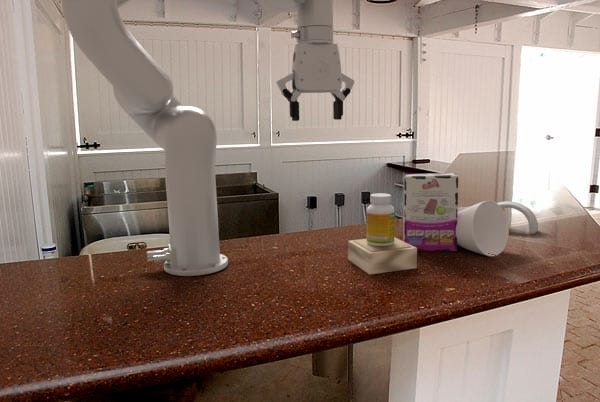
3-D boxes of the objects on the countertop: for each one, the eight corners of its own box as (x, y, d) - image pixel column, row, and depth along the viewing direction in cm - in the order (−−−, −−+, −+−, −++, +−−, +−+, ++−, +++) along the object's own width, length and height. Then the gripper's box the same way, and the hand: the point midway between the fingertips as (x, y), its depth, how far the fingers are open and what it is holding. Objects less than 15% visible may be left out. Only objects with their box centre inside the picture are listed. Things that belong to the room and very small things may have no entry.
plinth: (369, 274, 90) (369, 252, 89) (348, 259, 99) (347, 239, 99) (416, 268, 93) (417, 247, 92) (391, 254, 102) (391, 234, 102)
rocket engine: (419, 197, 115) (483, 189, 99) (449, 223, 119) (514, 220, 104) (401, 238, 111) (465, 237, 95) (433, 264, 115) (498, 266, 100)
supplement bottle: (394, 247, 92) (394, 197, 90) (365, 246, 93) (365, 197, 92) (394, 240, 97) (395, 192, 96) (367, 239, 98) (367, 192, 97)
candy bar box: (453, 245, 107) (456, 172, 105) (457, 252, 103) (459, 175, 100) (402, 244, 109) (403, 172, 106) (403, 251, 104) (404, 175, 101)
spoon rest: (433, 226, 127) (434, 199, 125) (449, 218, 136) (450, 193, 135) (531, 239, 113) (533, 208, 111) (541, 228, 122) (543, 200, 121)
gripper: (280, 34, 96) (283, 121, 99) (360, 36, 101) (360, 119, 104) (271, 39, 103) (273, 121, 106) (346, 41, 108) (346, 119, 111)
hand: (316, 120), depth 105 cm, fingers open, 9 cm apart
